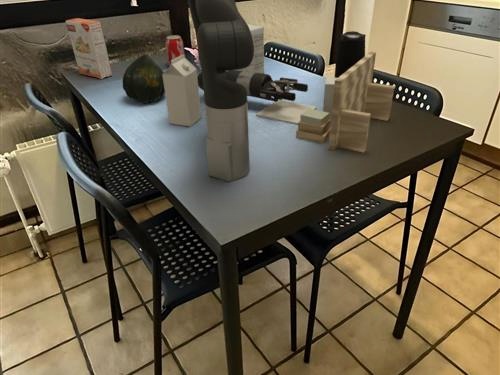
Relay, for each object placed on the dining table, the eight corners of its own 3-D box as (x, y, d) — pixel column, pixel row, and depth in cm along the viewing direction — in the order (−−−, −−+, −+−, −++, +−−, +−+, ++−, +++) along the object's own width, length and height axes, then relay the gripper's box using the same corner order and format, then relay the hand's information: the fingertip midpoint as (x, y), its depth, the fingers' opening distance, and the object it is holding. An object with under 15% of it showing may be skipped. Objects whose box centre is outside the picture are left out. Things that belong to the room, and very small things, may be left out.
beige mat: (297, 124, 116) (297, 123, 116) (256, 115, 122) (256, 114, 122) (316, 108, 126) (316, 106, 125) (277, 100, 132) (277, 99, 132)
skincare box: (336, 125, 115) (340, 84, 108) (321, 124, 116) (324, 84, 109) (337, 116, 120) (340, 77, 113) (322, 116, 121) (325, 77, 114)
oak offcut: (322, 136, 105) (322, 127, 103) (297, 130, 108) (298, 122, 106) (330, 128, 109) (330, 119, 107) (306, 123, 112) (306, 115, 110)
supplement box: (217, 75, 157) (214, 28, 147) (239, 67, 165) (238, 22, 155) (242, 82, 149) (241, 33, 140) (265, 73, 157) (264, 26, 148)
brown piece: (361, 156, 99) (371, 85, 89) (328, 149, 103) (334, 80, 93) (390, 116, 119) (401, 55, 109) (362, 111, 123) (370, 51, 113)
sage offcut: (320, 126, 104) (321, 119, 103) (300, 121, 107) (300, 114, 106) (328, 119, 107) (329, 112, 106) (308, 115, 110) (309, 108, 109)
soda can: (178, 70, 164) (174, 39, 158) (165, 67, 167) (161, 37, 161) (189, 65, 169) (185, 36, 162) (176, 63, 172) (173, 34, 166)
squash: (118, 94, 125) (143, 53, 123) (112, 83, 137) (134, 45, 135) (156, 116, 134) (181, 79, 131) (147, 104, 146) (169, 69, 143)
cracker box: (78, 74, 162) (64, 20, 151) (91, 71, 166) (78, 17, 155) (100, 80, 156) (87, 23, 144) (113, 76, 160) (101, 20, 148)
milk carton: (169, 124, 119) (159, 59, 108) (181, 115, 124) (173, 52, 114) (190, 127, 117) (182, 61, 106) (201, 118, 122) (195, 54, 112)
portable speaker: (340, 88, 141) (346, 29, 130) (364, 93, 135) (373, 33, 125) (327, 94, 135) (332, 34, 125) (352, 101, 130) (360, 38, 119)
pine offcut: (323, 145, 106) (324, 136, 104) (295, 138, 109) (296, 130, 108) (331, 136, 110) (332, 128, 109) (304, 130, 114) (305, 122, 112)
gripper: (241, 79, 118) (291, 87, 111) (265, 66, 128) (311, 73, 121) (242, 103, 122) (290, 113, 115) (265, 89, 132) (310, 97, 125)
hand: (301, 92), depth 118 cm, fingers open, 8 cm apart
